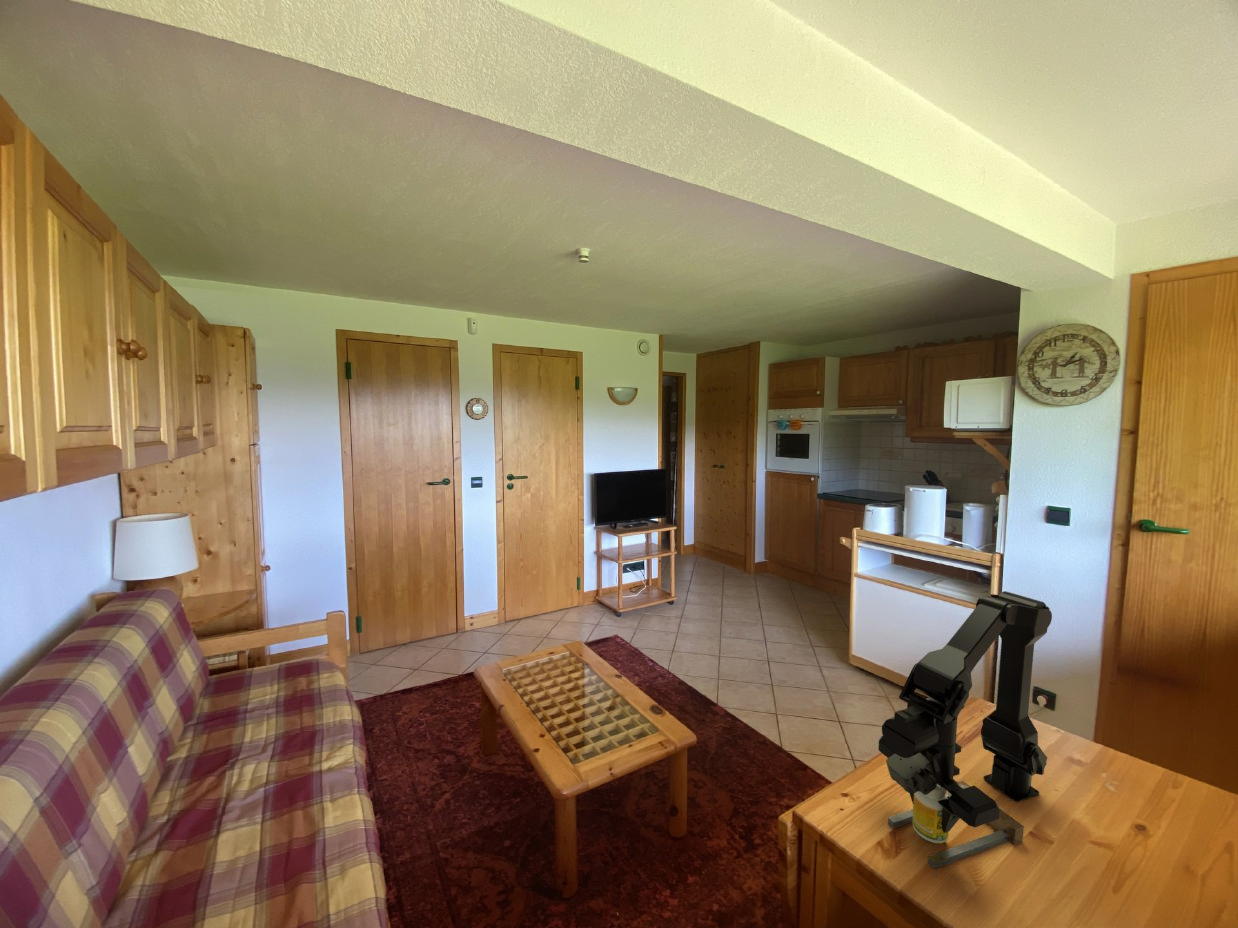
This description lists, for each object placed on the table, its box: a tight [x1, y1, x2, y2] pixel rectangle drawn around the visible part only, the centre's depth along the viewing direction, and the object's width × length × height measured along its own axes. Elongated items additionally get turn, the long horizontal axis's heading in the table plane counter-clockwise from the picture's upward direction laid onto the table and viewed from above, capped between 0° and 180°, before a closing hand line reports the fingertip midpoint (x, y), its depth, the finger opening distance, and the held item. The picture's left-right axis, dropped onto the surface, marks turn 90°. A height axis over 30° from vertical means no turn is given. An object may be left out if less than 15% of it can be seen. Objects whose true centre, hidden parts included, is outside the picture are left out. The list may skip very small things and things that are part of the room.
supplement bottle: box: [912, 786, 949, 844], centre depth 85 cm, size 5×5×10 cm
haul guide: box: [887, 780, 1025, 870], centre depth 87 cm, size 19×11×3 cm, turn 107°
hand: (930, 818), depth 86 cm, fingers closed on supplement bottle, 5 cm apart
